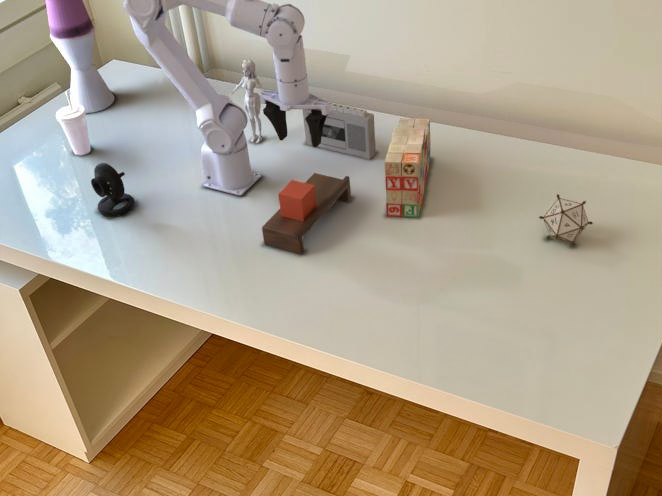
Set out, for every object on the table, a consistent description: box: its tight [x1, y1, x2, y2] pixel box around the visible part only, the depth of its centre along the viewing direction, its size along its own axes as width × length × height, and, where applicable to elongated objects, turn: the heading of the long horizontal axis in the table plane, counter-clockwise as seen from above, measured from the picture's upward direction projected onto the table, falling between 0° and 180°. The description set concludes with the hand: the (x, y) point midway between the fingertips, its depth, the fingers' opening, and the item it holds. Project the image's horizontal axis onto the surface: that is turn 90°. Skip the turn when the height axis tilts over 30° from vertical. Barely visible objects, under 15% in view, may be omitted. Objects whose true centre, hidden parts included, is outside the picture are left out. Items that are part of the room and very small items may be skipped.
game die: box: [538, 193, 594, 247], centre depth 156 cm, size 9×8×10 cm
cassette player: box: [302, 102, 377, 160], centre depth 184 cm, size 16×3×10 cm, turn 59°
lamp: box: [45, 0, 115, 114], centre depth 199 cm, size 11×11×40 cm
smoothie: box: [55, 90, 92, 156], centre depth 191 cm, size 6×6×14 cm
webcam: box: [90, 162, 135, 218], centre depth 175 cm, size 8×8×10 cm
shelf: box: [261, 172, 352, 255], centre depth 168 cm, size 8×20×5 cm, turn 151°
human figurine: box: [228, 58, 266, 144], centre depth 187 cm, size 12×4×18 cm, turn 60°
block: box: [277, 179, 317, 222], centre depth 163 cm, size 5×5×5 cm
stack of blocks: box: [384, 117, 431, 219], centre depth 171 cm, size 21×6×12 cm, turn 168°
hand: (300, 141), depth 171 cm, fingers open, 7 cm apart
